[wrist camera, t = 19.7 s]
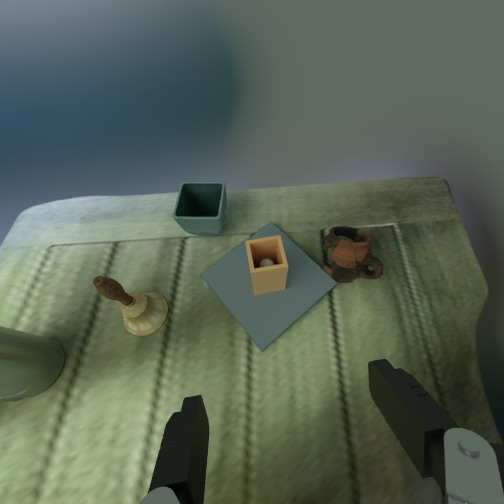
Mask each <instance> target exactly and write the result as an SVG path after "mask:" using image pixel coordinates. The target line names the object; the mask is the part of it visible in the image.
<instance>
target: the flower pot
mask: <svg viewBox="0 0 504 504" xmlns="http://www.w3.org/2000/svg"><path fill="white" fill-rule="evenodd" d="M225 208H226V189H225V183H224V182H183V183H181V185H180V190H179V194H178V198H177V202H176V206H175V210H174V213H173V218H174V219H175V220H176V222H177V223H178V224H179V225H180V226H181V227H182V228H183V229H184V230H185V231H186V232H188V233H191V234H195V235H220V234H221V233H222V229H223V222H224V215H225Z"/></svg>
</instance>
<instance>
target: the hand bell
mask: <svg viewBox="0 0 504 504" xmlns="http://www.w3.org/2000/svg"><path fill="white" fill-rule="evenodd" d="M93 283H94V285H95V286H96V288H97V290H98V291H99V293H100V294H101V295H103V296H104V297H106V298H108V299H111V300H118V301H120V302H121V312H122V314H123V322H124V325H125V327H126V329H127V330H128V331H129V332H130V333H132V334H134V335H137V336H145V335H149V334H151V333H153V332H155V331H156V330H158V329H159V328H160V327H161V326H162V325H163V323H164V322H165V320H166V318H167V314H168V304H167V301H166V299H165V298H164V297H163V296H162V295H161V294H159V293H157V292H153V291H148V292H143V293H140V292H133V293H130V294H127V293H126V292H125V291H124V289H123V287H122V286H121V285H120V284H119V283H118V282H117V281H115V280H114V279H111V278H106V277H101V276H98V277H96V278H95V279H94V281H93Z"/></svg>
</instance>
